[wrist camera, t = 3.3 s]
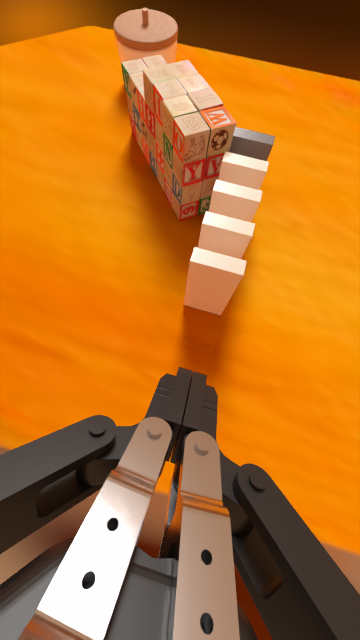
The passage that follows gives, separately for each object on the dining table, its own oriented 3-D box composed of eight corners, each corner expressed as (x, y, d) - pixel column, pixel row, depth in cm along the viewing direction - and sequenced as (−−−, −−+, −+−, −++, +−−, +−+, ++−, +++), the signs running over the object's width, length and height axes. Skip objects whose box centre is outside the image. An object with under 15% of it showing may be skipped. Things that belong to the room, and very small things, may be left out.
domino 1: (215, 203, 37) (230, 134, 28) (217, 196, 37) (233, 126, 28) (246, 211, 37) (272, 145, 27) (248, 204, 37) (274, 136, 28)
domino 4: (192, 276, 32) (202, 223, 23) (195, 266, 33) (206, 211, 24) (228, 285, 32) (252, 236, 23) (230, 276, 33) (255, 223, 23)
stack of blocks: (130, 132, 42) (115, 28, 30) (163, 124, 43) (161, 21, 31) (179, 222, 36) (184, 134, 24) (216, 210, 37) (238, 120, 25)
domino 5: (183, 304, 31) (189, 260, 21) (186, 294, 31) (194, 246, 22) (220, 315, 31) (243, 275, 21) (223, 304, 31) (246, 260, 22)
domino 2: (208, 225, 35) (222, 160, 26) (210, 217, 36) (225, 151, 27) (240, 234, 35) (266, 171, 26) (242, 226, 36) (269, 161, 26)
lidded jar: (113, 92, 45) (99, 16, 37) (134, 63, 49) (127, -12, 40) (165, 106, 45) (164, 32, 36) (183, 75, 48) (187, 2, 39)
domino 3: (200, 249, 34) (212, 190, 25) (203, 241, 34) (216, 179, 25) (234, 259, 34) (260, 202, 24) (236, 249, 34) (262, 190, 25)
